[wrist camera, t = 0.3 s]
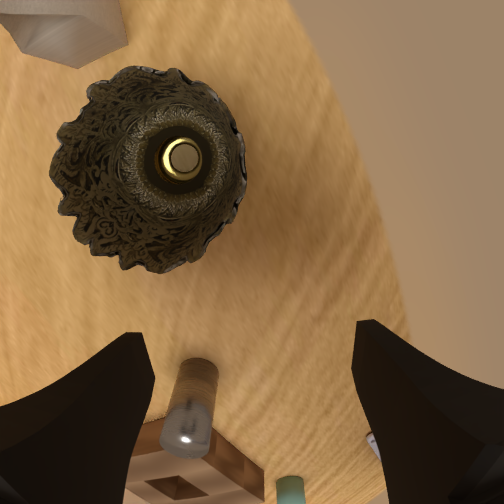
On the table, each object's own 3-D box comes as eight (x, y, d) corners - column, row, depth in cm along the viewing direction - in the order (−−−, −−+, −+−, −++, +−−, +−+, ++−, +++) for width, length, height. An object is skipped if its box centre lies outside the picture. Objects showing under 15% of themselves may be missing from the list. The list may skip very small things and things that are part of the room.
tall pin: (226, 379, 23) (219, 452, 16) (195, 391, 23) (180, 462, 17) (203, 352, 22) (187, 425, 15) (171, 366, 23) (149, 437, 16)
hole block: (263, 471, 27) (264, 502, 24) (176, 489, 30) (171, 515, 26) (191, 408, 24) (184, 444, 20) (102, 435, 26) (91, 463, 22)
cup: (185, 245, 19) (145, 311, 12) (102, 162, 18) (21, 182, 10) (277, 159, 18) (294, 173, 10) (187, 70, 16) (141, 26, 8)
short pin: (307, 482, 29) (310, 511, 25) (283, 489, 29) (285, 517, 25) (296, 473, 28) (298, 503, 24) (271, 480, 28) (272, 510, 25)
